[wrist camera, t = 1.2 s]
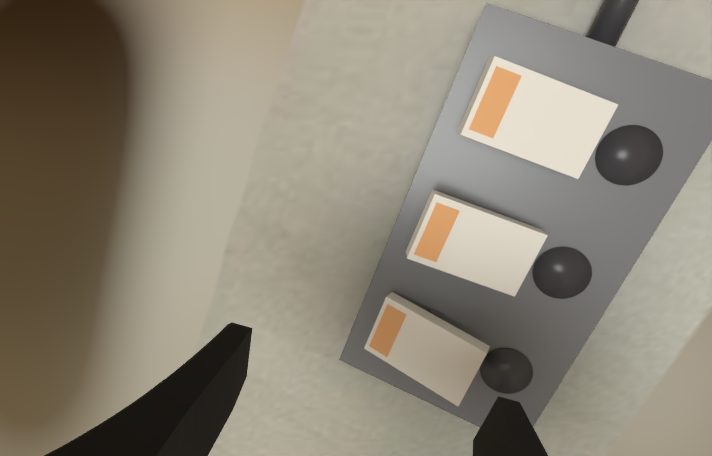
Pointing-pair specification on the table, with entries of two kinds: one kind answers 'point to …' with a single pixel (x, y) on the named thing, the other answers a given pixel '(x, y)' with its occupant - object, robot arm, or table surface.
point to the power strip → (544, 208)
